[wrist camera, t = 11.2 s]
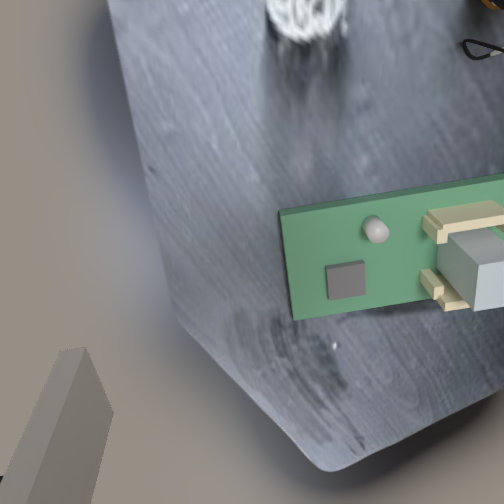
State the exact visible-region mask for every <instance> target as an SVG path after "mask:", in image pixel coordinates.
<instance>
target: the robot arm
mask: <svg viewBox="0 0 504 504" xmlns="http://www.w3.org/2000/svg"><path fill="white" fill-rule="evenodd" d="M112 417H113V410H112V408H111V405H110V403H109V401H108V398H107V396H106V393H105V391H104V389H103V386H102V384H101V382H100V379H99V377H98V375H97V372H96V370H95V368H94V365H93V363H92V361H91V358H90V356H89V353H88V351H87V349H86V347H83V348H77V349H71V350H65V351H60V353H59V355H58V357H57V360H56V361H55V364H54V366H53V368H52V370H51V373H50V375H49V377H48V379H47V382H46V384H45V386H44V388H43V390H42V392H41V395H40V397H39V399H38V401H37V404H36V406H35V408H34V410H33V413H32V414H31V417H30V419H29V421H28V424H27V426H26V428H25V430H24V432H23V434H22V437H21V439H20V441H19V443H18V446H17V448H16V450H15V452H14V454H13V457H12V459H11V461H10V463H9V465H8V468H7V470H6V472H5V475H4V476H0V504H91V500H92V496H93V492H94V488H95V484H96V480H97V476H98V472H99V468H100V464H101V461H102V457H103V453H104V448H105V445H106V441H107V436H108V432H109V429H110V425H111V420H112Z"/></svg>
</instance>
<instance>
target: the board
mask: <svg viewBox="0 0 504 504" xmlns="http://www.w3.org/2000/svg"><path fill="white" fill-rule="evenodd" d="M279 215H280V223H281V231H282V238H283V246H284V254H285V262H286V270H287V277H288V285H289V293H290V301H291V309H292V315H293V319H294V321H295V320H301V319H307V318H313V317H319V316H326V315H332V314H338V313H344V312H350V311H356V310H362V309H369V308H375V307H381V306H387V305H393V304H399V303H405V302H411V301H418V300H424V299H430V298H433V299H434V300H435V299H436V300H437V302H438V303H439V304H440V306H441V307H442V308H443V310H444V311H450V310H456V309H462V308H469V307H470V306H469V305H468V304H467V303H466V302H465V300H464V299H463V298H462V297H461V296H460V295H459V293H458V292H457V291H456V290H455V289H454V288H453V286H452V285H451V284H450V283H449V282H448V281H447V279H446V278H445V277H444V276H443V275H442V274H441V272H440V271H439V270H438V269H437V252H438V244H442V243H447V239H448V233H454V232H460V231H466V230H472V229H478V228H484V227H487V228H488V229H489V230H490V231H492V232H493V233H494V234H495V235H497V236H498V237H499V238H500V239H502V240H503V241H504V173H501V174H495V175H489V176H483V177H477V178H471V179H465V180H459V181H453V182H447V183H441V184H435V185H428V186H422V187H416V188H410V189H404V190H398V191H392V192H386V193H380V194H374V195H368V196H362V197H356V198H350V199H343V200H337V201H331V202H325V203H319V204H313V205H307V206H301V207H295V208H289V209H283V210H279Z"/></svg>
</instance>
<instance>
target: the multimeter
mask: <svg viewBox="0 0 504 504" xmlns="http://www.w3.org/2000/svg"><path fill="white" fill-rule="evenodd" d="M481 1H482V2H483V3H484V4H485V5H486V6H487V7H489V8H490V9H491V10H492V9H502V10H504V0H481ZM466 42H470V43H474V44H478V45H481V46H484V47H487V48H491V49H494V51H492V52H490V53H489V54H487V55H484V56H480V57H475V56H473V55H471V53H470V52H469V50H468V48H467V46H466ZM462 44H463V47H464V50H465V52H466V53H467V55H468V56H469V57H470V58H472V59H475V60H480V59H484V58H487V57H491V56H495V55H498V54H500V53H504V46H503V47H501V48H500V47H497V46H494V45H491V44H487V43H484V42H481V41H477V40H473V39H465V40H464V41H463V42H462Z"/></svg>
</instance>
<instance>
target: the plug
mask: <svg viewBox="0 0 504 504" xmlns="http://www.w3.org/2000/svg"><path fill="white" fill-rule="evenodd" d="M437 269H438V270H439V271H440V272H441V274H442V275H443V276H444V277H445V278H446V279H447V281H448V282H449V283H450V284H451V285H452V286H453V288H454V289H455V290H456V291H457V292H458V293H459V295H460V296H461V297H462V298H463V299H464V300H465V302H466V303H467V304H468V305H469V306H470V307H471V309H472V310H473V311H479V310H485V309H491V308H497V307H504V241H503V240H502V239H500V238H499V237H498V236H497V235H495V234H494V233H493V232H492V231H490V230H489V229H488V228H487V227H484V228H478V229H472V230H466V231H460V232H454V233H448V239H447V243H442V244H438V252H437Z"/></svg>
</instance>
